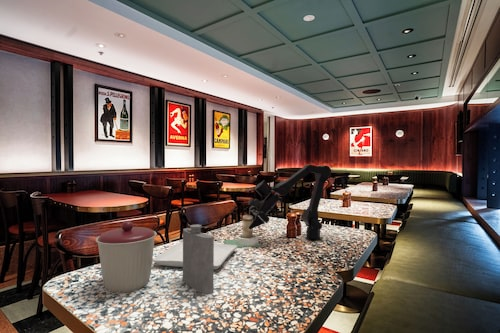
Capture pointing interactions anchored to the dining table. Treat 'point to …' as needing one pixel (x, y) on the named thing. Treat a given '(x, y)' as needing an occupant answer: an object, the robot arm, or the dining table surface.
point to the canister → (126, 257)
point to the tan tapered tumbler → (247, 226)
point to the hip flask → (198, 259)
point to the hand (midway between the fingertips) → (247, 226)
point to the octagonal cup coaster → (243, 241)
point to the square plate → (176, 255)
